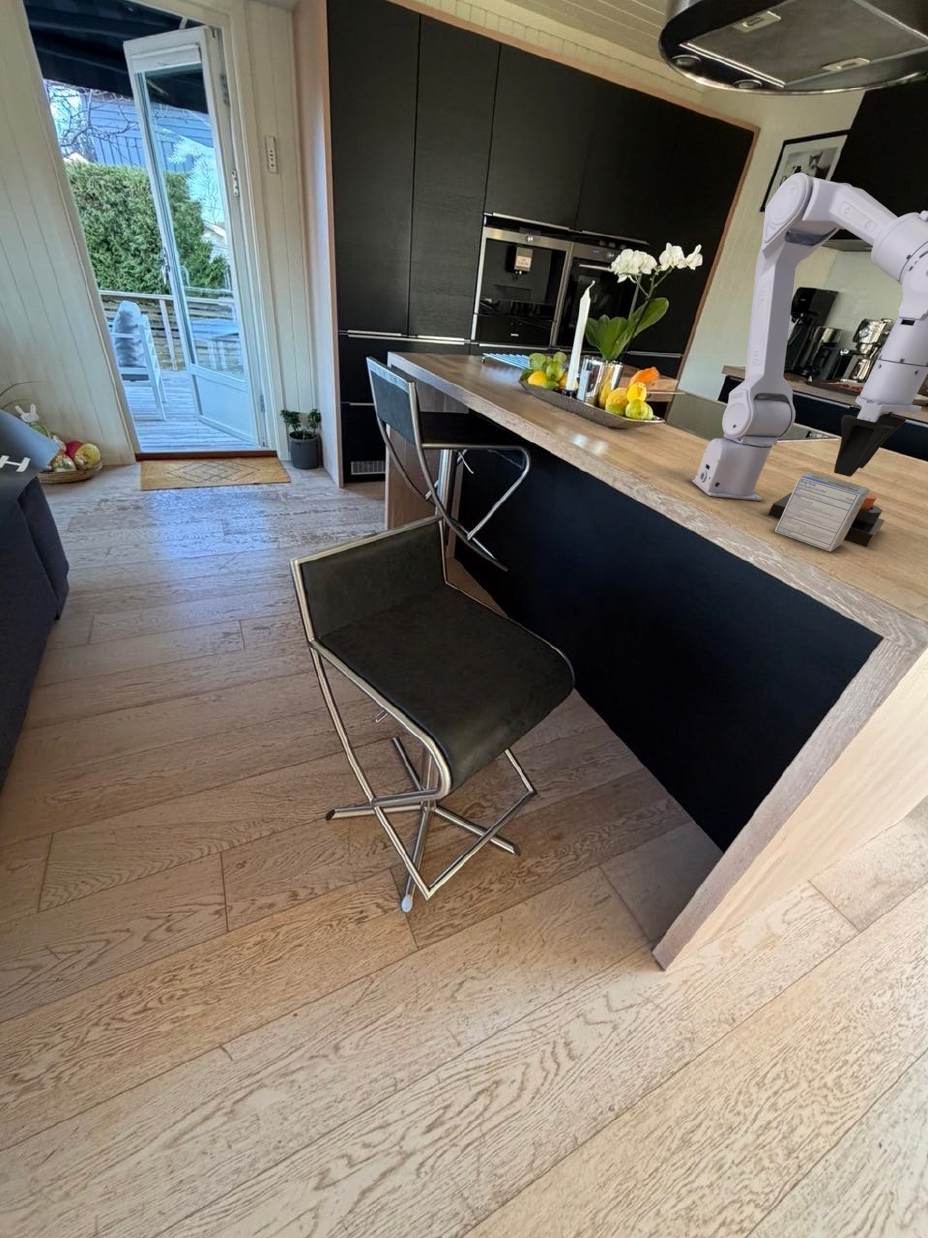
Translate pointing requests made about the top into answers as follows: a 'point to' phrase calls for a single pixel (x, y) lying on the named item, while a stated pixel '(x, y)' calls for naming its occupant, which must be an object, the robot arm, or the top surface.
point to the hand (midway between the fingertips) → (848, 470)
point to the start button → (868, 502)
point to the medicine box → (821, 510)
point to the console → (858, 532)
